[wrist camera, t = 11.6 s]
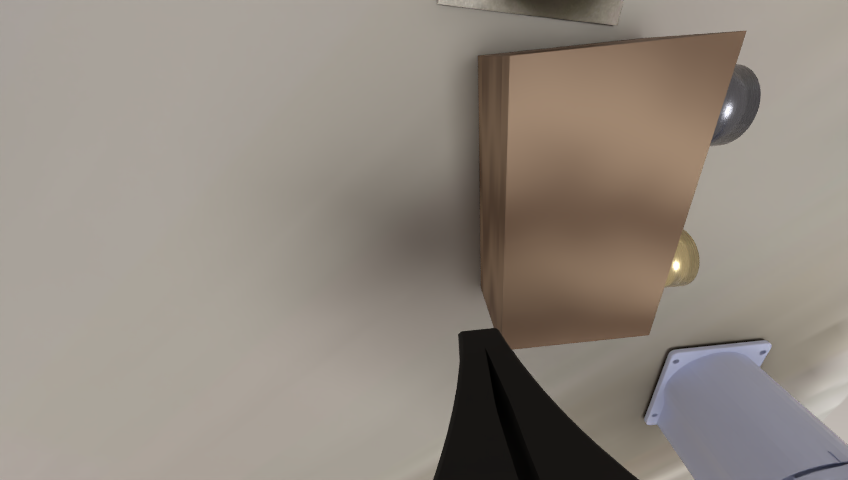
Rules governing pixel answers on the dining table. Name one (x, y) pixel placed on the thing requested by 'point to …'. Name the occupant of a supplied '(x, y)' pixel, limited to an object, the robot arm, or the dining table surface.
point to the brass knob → (683, 262)
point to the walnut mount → (591, 179)
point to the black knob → (737, 106)
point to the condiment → (550, 8)
